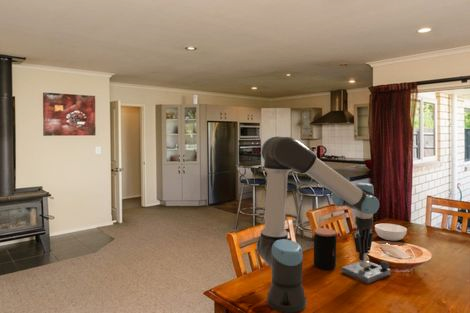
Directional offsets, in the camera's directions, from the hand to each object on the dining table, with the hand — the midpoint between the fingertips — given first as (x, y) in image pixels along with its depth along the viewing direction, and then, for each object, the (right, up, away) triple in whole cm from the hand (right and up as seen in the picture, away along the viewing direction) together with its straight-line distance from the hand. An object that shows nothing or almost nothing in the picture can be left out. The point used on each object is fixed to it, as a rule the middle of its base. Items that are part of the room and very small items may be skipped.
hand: (362, 266), depth 152 cm
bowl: (+38, -1, +53) cm, 65 cm away
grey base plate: (+2, -4, +2) cm, 5 cm away
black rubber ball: (+11, 0, +1) cm, 11 cm away
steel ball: (+3, 0, +2) cm, 3 cm away
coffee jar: (-15, -4, +10) cm, 18 cm away
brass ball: (+5, +1, +9) cm, 11 cm away
